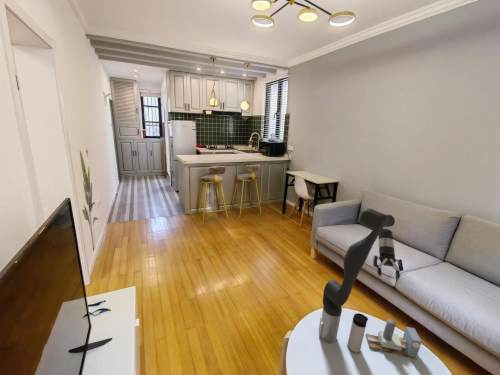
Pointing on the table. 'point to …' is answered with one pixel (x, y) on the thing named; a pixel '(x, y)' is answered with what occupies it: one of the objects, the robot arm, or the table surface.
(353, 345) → the travel mug
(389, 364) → the table surface
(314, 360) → the table surface
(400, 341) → the button
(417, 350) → the end cabinet
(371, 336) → the track
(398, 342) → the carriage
